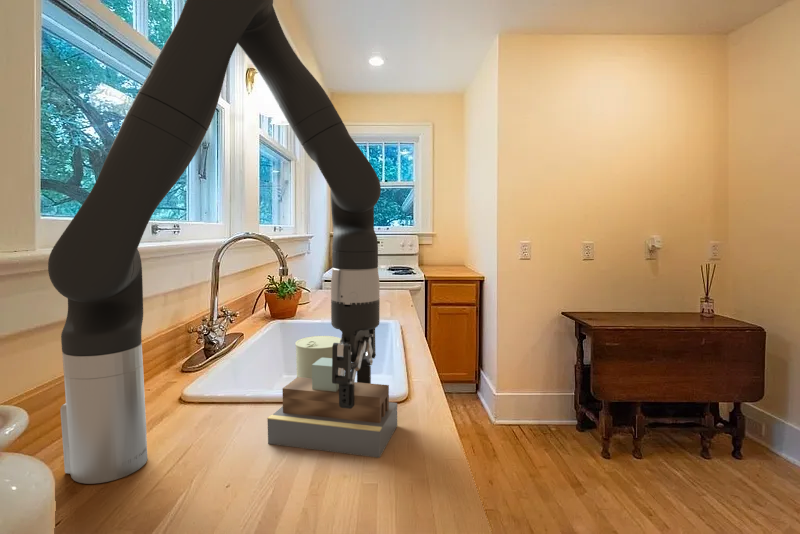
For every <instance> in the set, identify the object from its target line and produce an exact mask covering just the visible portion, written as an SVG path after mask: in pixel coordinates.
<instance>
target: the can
mask: <svg viewBox="0 0 800 534" xmlns="http://www.w3.org/2000/svg"><path fill="white" fill-rule="evenodd" d="M340 340H341V337H339V336H332V335H313V336H307V337H303V338H300V339H298V340H297V341H295V343H294V344H295V354H296V356H295V361H296V363H295V364H296V378H297V377H302V378H312V364H314V363H315V362H316V361H318V360H319V359H320V358H332V346H333V343H340Z"/></svg>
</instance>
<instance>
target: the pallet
mask: <svg viewBox="0 0 800 534" xmlns="http://www.w3.org/2000/svg"><path fill="white" fill-rule="evenodd" d="M389 387H390V385H389V384H379V383H371V384H370V383H359V382H357V381H355V382H354V406H353V408H351V409H348V408H341V407H340V406H339V389H338V390H337V391H336V392H334V391H324V390H313V389H312V378H302V377H297V376H296V378H295V379H292V381H290V382H289V383H288V384H286V385H285V386H284V387H282V389H281V390H282V406H283V413H291V414H300V415H309V416H319V417H328V418H337V419H347V420H356V421H365V422H375V423H380V422H381V417H384V415H385V411H388V409H389V402H390V401H389V400H390V399H389V397H390V395H389V394H390V391H389V390H390V388H389Z"/></svg>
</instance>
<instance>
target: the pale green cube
mask: <svg viewBox="0 0 800 534" xmlns="http://www.w3.org/2000/svg"><path fill="white" fill-rule="evenodd" d="M338 370H339V368H338ZM343 376H345V370H344V373H343ZM312 389H313V390H324V391H334V392H336V391H337V390H338V389H339V384H333V383H332V358H320V359H319V360H318V361H316V362H315V363H314V364H312Z"/></svg>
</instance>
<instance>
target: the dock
mask: <svg viewBox="0 0 800 534" xmlns="http://www.w3.org/2000/svg"><path fill="white" fill-rule="evenodd" d="M266 420H267V444H270V445H275V446H283V447H284V446H285V447H291V448H293V447H294V448H300V449H309V450H316V451H324V452H331V453H332V452H333V453H341V454H349V455H356V456H362V457H364V456H365V457H371V458H381V457H382V454H383V452H384V451H385V449H386V447H387V445H388V443H389V441H390V439H391V438H392V436H393V435H394V433H395V431H396V429H397V426H398V402H394V401H393V402H391V401H389V409H388V411H385V415H384V417H381V422H380V423H375V422H365V421H356V420H347V419H337V418H328V417H319V416H309V415H300V414H291V413H283V405H282V406H281V407H279V409H277V410H276V411H275V412H274V413H273V414H270V415H269V416H268V417H267V418H266Z"/></svg>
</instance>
